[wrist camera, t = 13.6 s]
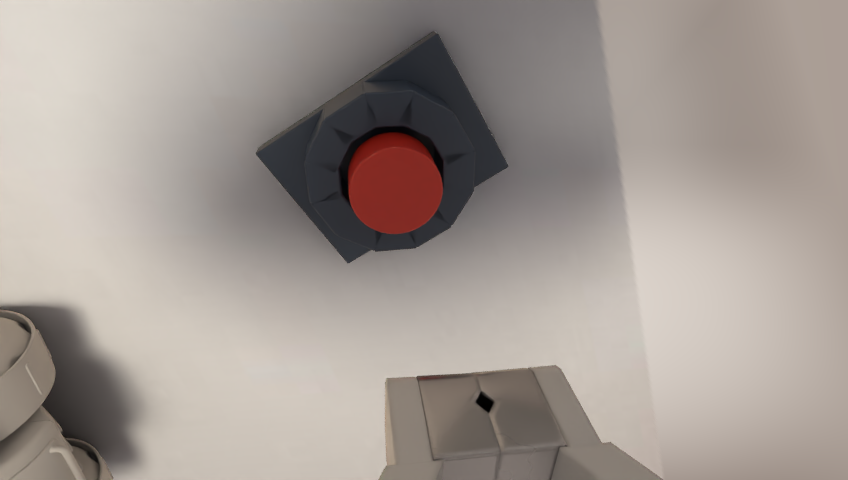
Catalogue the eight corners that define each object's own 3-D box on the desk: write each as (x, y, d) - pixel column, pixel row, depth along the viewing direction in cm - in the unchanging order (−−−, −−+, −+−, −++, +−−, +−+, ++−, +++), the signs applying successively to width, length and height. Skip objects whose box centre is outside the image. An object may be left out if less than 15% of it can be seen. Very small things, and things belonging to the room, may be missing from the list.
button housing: (433, 29, 18) (447, 38, 16) (504, 161, 21) (523, 184, 19) (256, 146, 19) (246, 170, 17) (348, 256, 22) (349, 288, 20)
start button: (405, 113, 17) (412, 128, 16) (449, 184, 19) (459, 204, 17) (329, 162, 17) (329, 181, 16) (379, 227, 19) (382, 250, 18)
